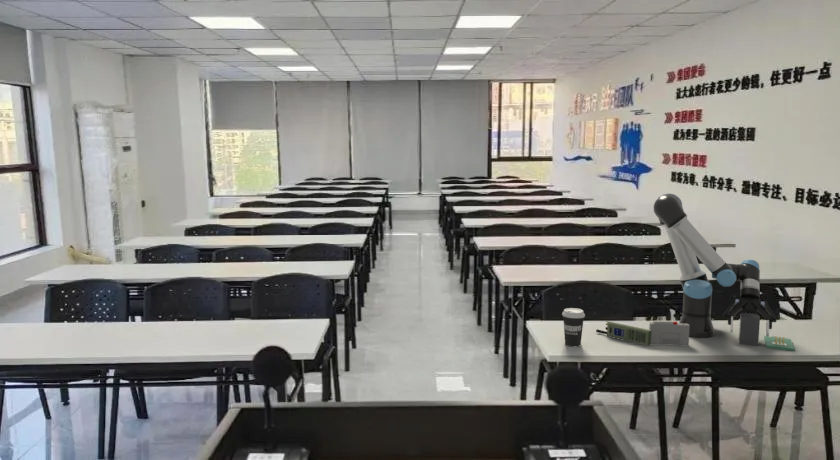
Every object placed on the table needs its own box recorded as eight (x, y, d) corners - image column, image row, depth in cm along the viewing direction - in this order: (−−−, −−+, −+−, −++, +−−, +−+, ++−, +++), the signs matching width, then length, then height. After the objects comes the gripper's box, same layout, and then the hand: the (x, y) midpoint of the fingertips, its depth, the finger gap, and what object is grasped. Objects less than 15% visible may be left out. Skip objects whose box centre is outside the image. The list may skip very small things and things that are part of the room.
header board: (766, 347, 251) (767, 338, 251) (764, 338, 264) (764, 329, 263) (794, 351, 247) (794, 341, 246) (790, 341, 259) (791, 332, 259)
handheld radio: (647, 346, 255) (594, 334, 272) (651, 344, 257) (598, 332, 275) (648, 331, 254) (595, 319, 272) (652, 329, 257) (598, 318, 274)
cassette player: (686, 343, 258) (687, 321, 256) (688, 345, 255) (689, 323, 254) (648, 342, 260) (649, 320, 259) (650, 344, 257) (651, 321, 256)
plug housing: (739, 343, 257) (741, 316, 255) (738, 339, 263) (740, 312, 261) (758, 346, 253) (759, 318, 252) (757, 341, 260) (758, 314, 258)
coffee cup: (556, 342, 260) (557, 309, 258) (574, 339, 264) (575, 306, 262) (570, 349, 252) (571, 314, 250) (588, 346, 255) (589, 311, 253)
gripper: (781, 298, 264) (782, 341, 253) (718, 293, 275) (716, 333, 264) (783, 289, 259) (784, 332, 247) (719, 284, 270) (717, 325, 258)
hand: (749, 333), depth 255 cm, fingers open, 13 cm apart
